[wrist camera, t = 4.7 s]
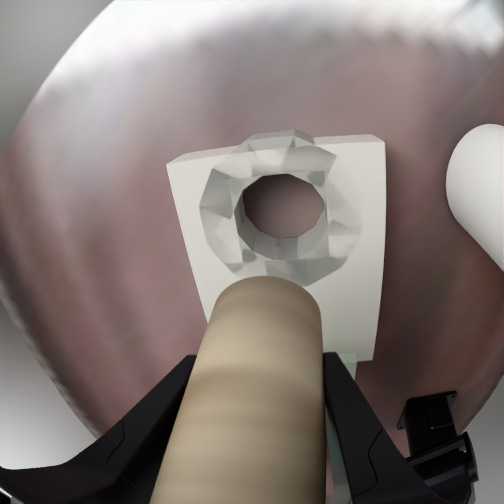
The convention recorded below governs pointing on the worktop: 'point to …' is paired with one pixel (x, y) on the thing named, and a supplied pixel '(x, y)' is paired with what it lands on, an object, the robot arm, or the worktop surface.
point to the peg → (252, 404)
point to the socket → (295, 248)
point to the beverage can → (479, 187)
